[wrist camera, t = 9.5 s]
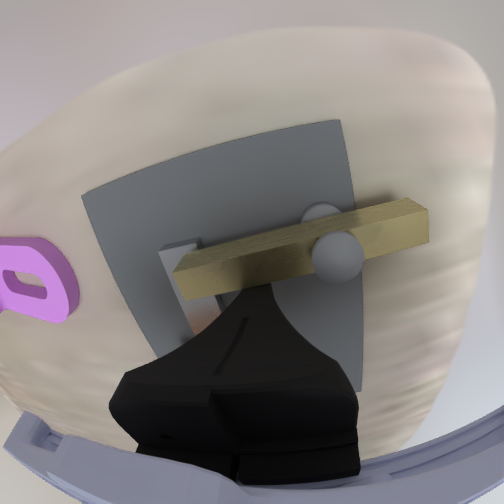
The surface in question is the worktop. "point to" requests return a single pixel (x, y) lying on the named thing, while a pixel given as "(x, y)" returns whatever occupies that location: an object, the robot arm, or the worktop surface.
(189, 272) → the keeper bar
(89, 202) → the grey latch board
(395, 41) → the worktop surface
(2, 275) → the bracket
